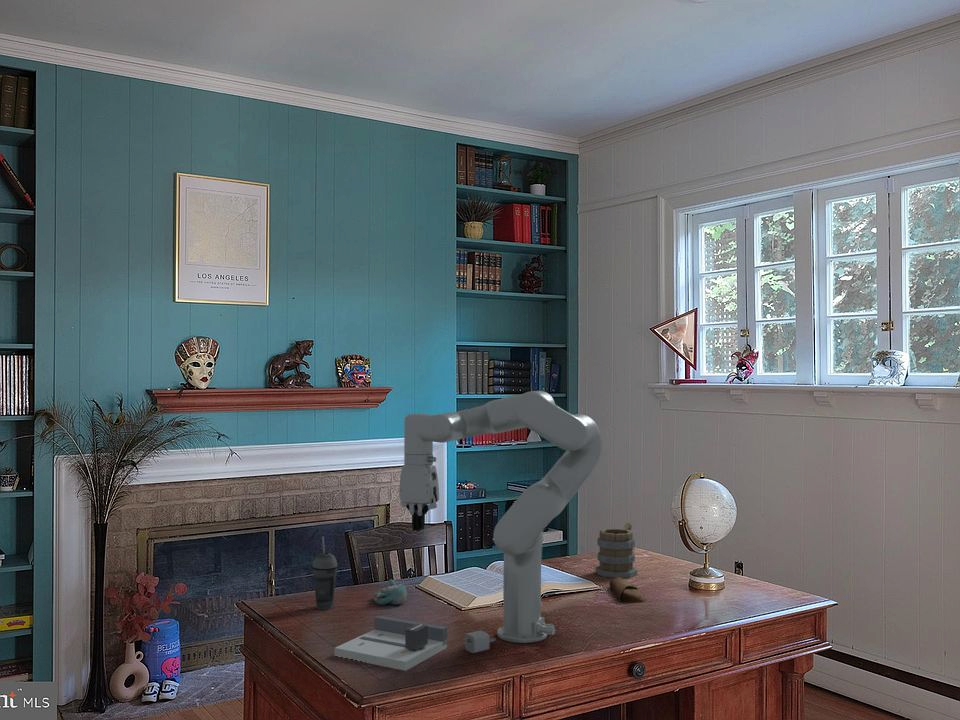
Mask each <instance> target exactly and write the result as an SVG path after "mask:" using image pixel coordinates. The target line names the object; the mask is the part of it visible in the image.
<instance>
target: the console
mask: <svg viewBox="0 0 960 720" xmlns="http://www.w3.org/2000/svg"><path fill="white" fill-rule="evenodd" d="M415 624H422V625H427V626H428V644H427V645H425V646H423V647H422V648H420V649H418V650H411V649H406V648H405V629H407V628H409V627H411V626H413V625H415ZM447 648H448V626H445V625H444V626H443V625H437V624H432V623H425V622H419V621H414V620H407V619H402V618H396V617H390V616H383V615H377V616H375V617H374V629H372V630H370V631H368V632H366V633H364V634H362V635H360V636H358V637H357V636H356V637H355V638H353V639H351V640H349V641H346V642H344V643H342V644H340V645H338V646H336V647H334V657H335V656H338V657H337V658H340V657H343V658H342V659H345V658H348V659H347V660H350V659H353V660H352V661H355V660H357V662H360V661H362V662H361V663H365V662H366V664H370V665H374V666H375V665H376V666H380V667H385V668H389V669H390V668H391V669H396V670H399V671H405V672H407V671H408V670H410V669H412V668H413V667H415V666H418V665H419V664H421V663H422V662H424V661H426V660H427V659H429V658H431V657H433V656H435V655H436V654H438V653H440V652H441V651H443V650H445V649H447Z"/></svg>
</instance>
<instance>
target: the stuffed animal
mask: <svg viewBox="0 0 960 720" xmlns="http://www.w3.org/2000/svg"><path fill="white" fill-rule="evenodd" d="M407 598H408V590H407V587H406V586H405V585H404V584H402V583H401V584H400V583H396V581H394V580H393V579H392V578H390V579H389V580H388V584H387V585H386V587H382V589H381V590H379V591H376V592H374V594H373V600H374V603H376V604H377V605H379V606H384V605H387V604H390V605H392V606H393V605H397V606H398V605H402V604H404V603H405V602H406V599H407Z"/></svg>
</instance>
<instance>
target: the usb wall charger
mask: <svg viewBox="0 0 960 720" xmlns="http://www.w3.org/2000/svg"><path fill="white" fill-rule="evenodd" d="M495 641H497V640H496V637H492V635H490V634H489V633H488V632H486V631H483V630H477V631H473V632H468V633H465V634H464V649H465V650H466V651H468V652H469V653H472V654H477V653H481V652H485V651H489V650H490V643H493V642H495Z"/></svg>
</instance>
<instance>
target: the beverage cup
mask: <svg viewBox="0 0 960 720" xmlns="http://www.w3.org/2000/svg"><path fill="white" fill-rule="evenodd" d="M321 540H322V541H321V542H322V552H320V553H319V554H318V555H317V556H315V558H314V559H313V561H312V567H311V568H312V573H313V580H314V589H315V591H314V592H315V593H314V594H315V604H316V609H317V608H318V609H317V610H319V609H320V610H319V611H328V609H329V610H331V609H333V608H334V602H335V590H336V580H337V579H336V578H337V574H338V568H339V566H338V561H337V559H336V556H335V555H333V554H332V553H330V552H326V551H325V536H323V535H322V536H321Z"/></svg>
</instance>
